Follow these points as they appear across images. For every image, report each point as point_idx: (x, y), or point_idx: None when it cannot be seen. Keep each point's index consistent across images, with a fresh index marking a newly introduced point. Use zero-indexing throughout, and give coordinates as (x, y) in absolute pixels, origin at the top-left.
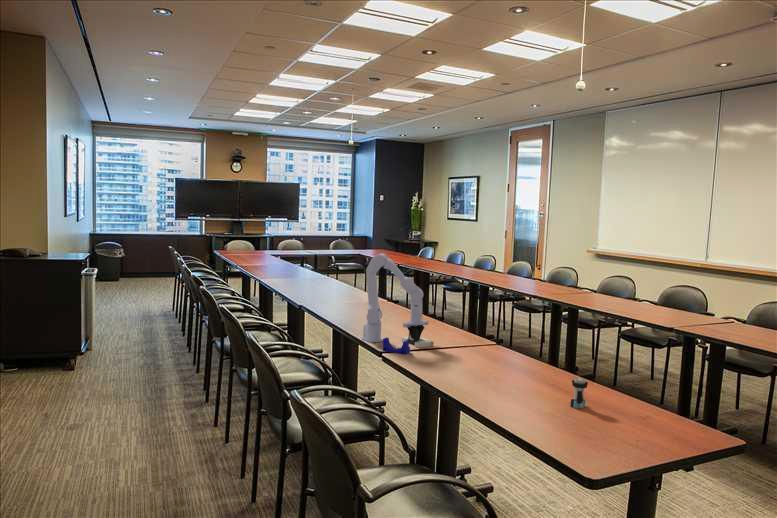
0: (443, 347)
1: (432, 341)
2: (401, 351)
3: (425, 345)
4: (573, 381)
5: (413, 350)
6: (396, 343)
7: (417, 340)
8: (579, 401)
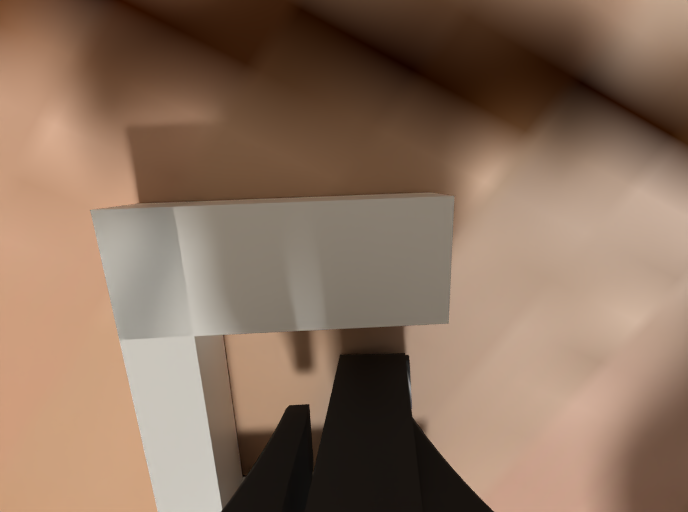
0: (16, 17)
1: (106, 229)
2: None
3: (301, 197)
4: None
5: (615, 88)
6: (543, 483)
7: (343, 385)
8: None
